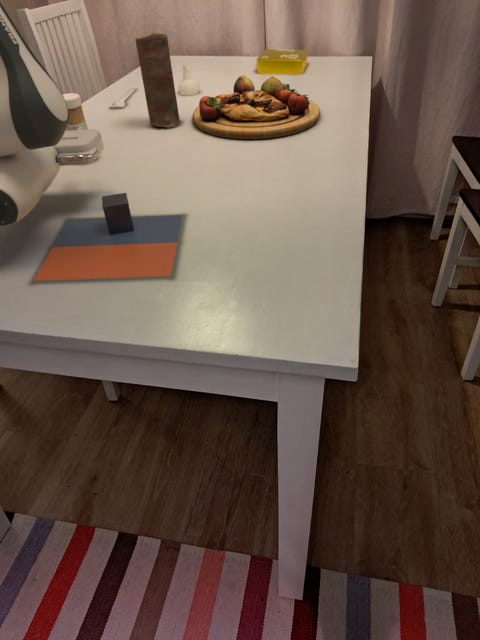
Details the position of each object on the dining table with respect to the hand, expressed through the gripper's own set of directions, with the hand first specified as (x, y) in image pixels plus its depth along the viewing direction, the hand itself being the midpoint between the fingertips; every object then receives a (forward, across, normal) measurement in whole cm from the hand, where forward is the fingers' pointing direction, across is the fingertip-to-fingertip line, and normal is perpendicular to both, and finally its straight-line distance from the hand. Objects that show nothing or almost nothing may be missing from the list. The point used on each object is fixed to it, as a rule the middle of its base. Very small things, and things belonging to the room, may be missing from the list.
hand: (55, 132), depth 86 cm
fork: (+56, 0, +10) cm, 57 cm away
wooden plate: (+35, -38, +11) cm, 52 cm away
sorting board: (-24, -14, +10) cm, 30 cm away
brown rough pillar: (+33, -15, +11) cm, 38 cm away
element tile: (+84, -48, +11) cm, 97 cm away
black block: (-19, -14, +10) cm, 25 cm away
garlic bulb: (+60, -19, +10) cm, 64 cm away
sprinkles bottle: (+12, 0, +10) cm, 16 cm away
